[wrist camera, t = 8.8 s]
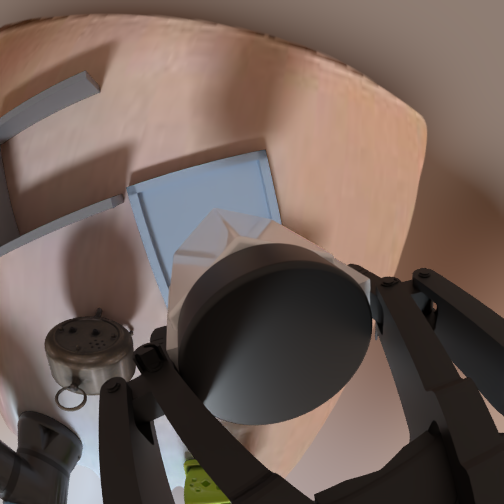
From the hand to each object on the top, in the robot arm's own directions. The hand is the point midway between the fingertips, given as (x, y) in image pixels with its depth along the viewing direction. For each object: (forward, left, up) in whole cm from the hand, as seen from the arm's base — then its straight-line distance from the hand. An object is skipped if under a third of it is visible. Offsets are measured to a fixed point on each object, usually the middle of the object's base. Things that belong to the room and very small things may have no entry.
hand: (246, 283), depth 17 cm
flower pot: (-16, -49, -16) cm, 54 cm away
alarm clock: (-18, -7, -16) cm, 25 cm away
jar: (0, 0, -4) cm, 4 cm away
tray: (0, 0, -16) cm, 16 cm away
